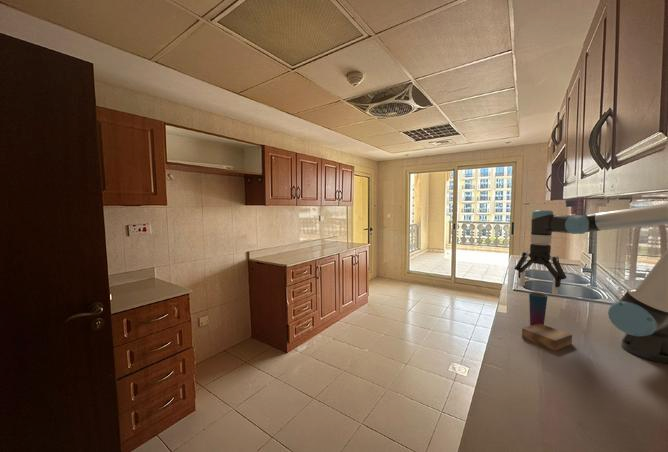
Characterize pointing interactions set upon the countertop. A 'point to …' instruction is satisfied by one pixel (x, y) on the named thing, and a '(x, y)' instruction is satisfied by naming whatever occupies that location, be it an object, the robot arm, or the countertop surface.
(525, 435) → the countertop surface
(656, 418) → the countertop surface
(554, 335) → the base block
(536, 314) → the cup
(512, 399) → the countertop surface
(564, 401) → the countertop surface
